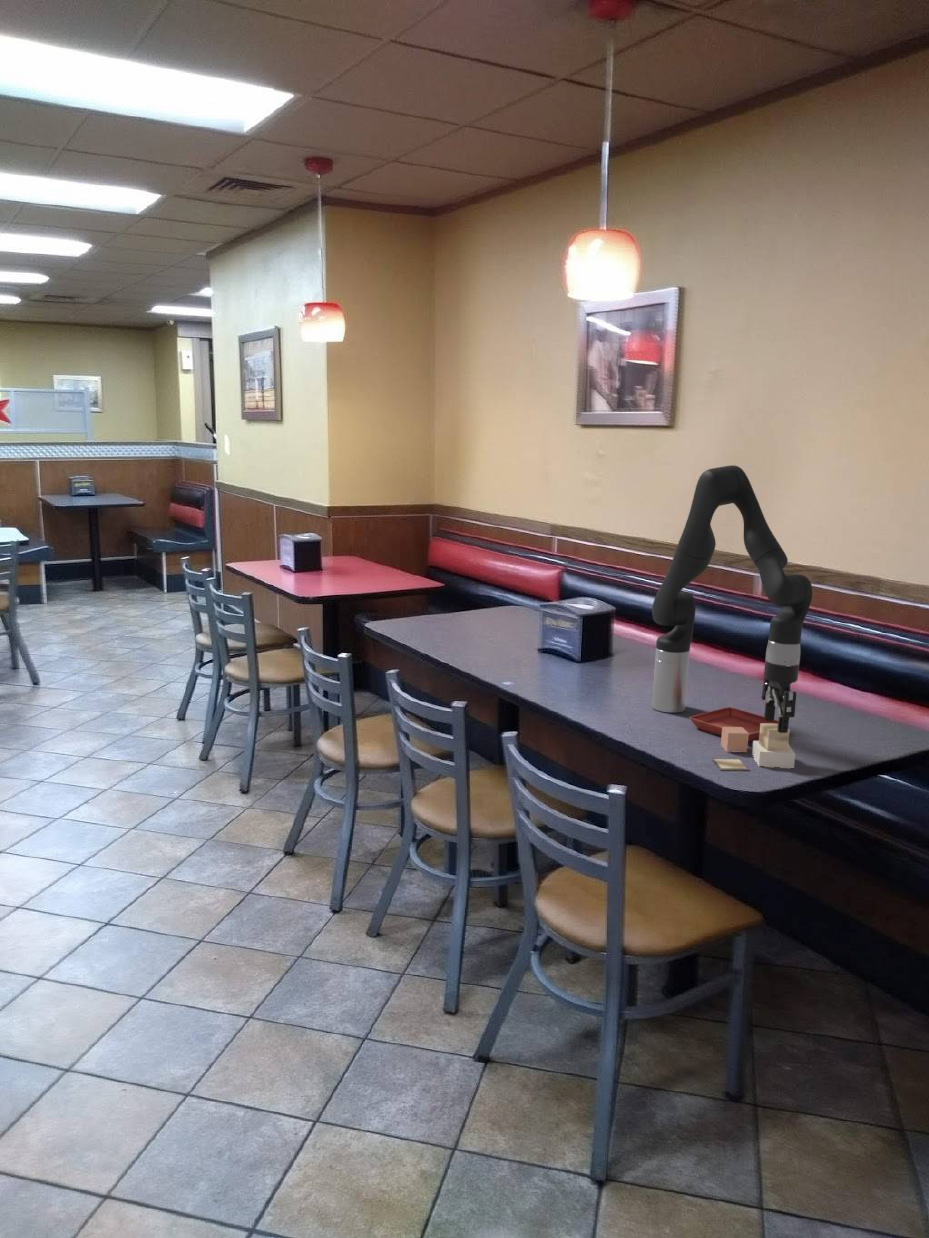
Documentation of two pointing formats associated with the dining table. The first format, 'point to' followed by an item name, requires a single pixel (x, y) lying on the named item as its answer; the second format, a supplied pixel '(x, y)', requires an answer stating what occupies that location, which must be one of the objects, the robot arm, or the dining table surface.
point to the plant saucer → (730, 721)
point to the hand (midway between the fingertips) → (775, 726)
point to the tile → (730, 764)
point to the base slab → (773, 756)
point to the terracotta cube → (734, 739)
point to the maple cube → (773, 737)
